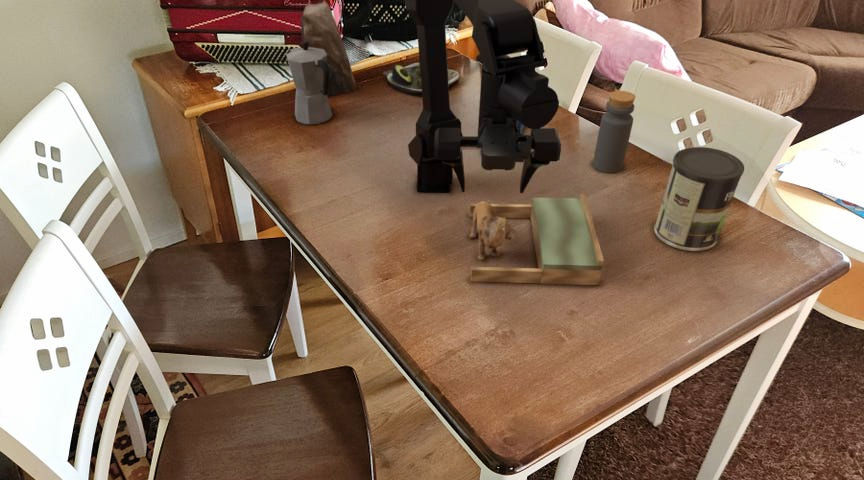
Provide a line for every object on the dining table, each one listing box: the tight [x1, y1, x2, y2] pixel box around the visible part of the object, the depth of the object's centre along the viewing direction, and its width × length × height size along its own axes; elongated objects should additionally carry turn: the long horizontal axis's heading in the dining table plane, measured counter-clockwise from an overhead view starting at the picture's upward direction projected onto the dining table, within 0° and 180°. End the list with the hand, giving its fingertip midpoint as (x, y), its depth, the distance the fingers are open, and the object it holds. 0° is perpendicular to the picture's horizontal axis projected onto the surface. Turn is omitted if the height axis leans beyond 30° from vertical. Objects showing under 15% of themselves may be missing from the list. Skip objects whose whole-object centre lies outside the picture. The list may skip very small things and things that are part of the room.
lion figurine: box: [469, 200, 518, 261], centre depth 104 cm, size 15×5×9 cm, turn 13°
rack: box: [469, 193, 605, 286], centre depth 104 cm, size 20×19×5 cm
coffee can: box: [653, 146, 745, 252], centre depth 103 cm, size 10×10×14 cm
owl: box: [299, 0, 357, 97], centre depth 156 cm, size 13×13×20 cm
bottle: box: [592, 90, 636, 174], centre depth 121 cm, size 6×6×15 cm
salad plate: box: [382, 61, 460, 97], centre depth 161 cm, size 19×18×5 cm
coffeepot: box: [285, 40, 333, 126], centre depth 142 cm, size 15×9×18 cm, turn 37°
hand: (492, 191), depth 100 cm, fingers open, 9 cm apart
